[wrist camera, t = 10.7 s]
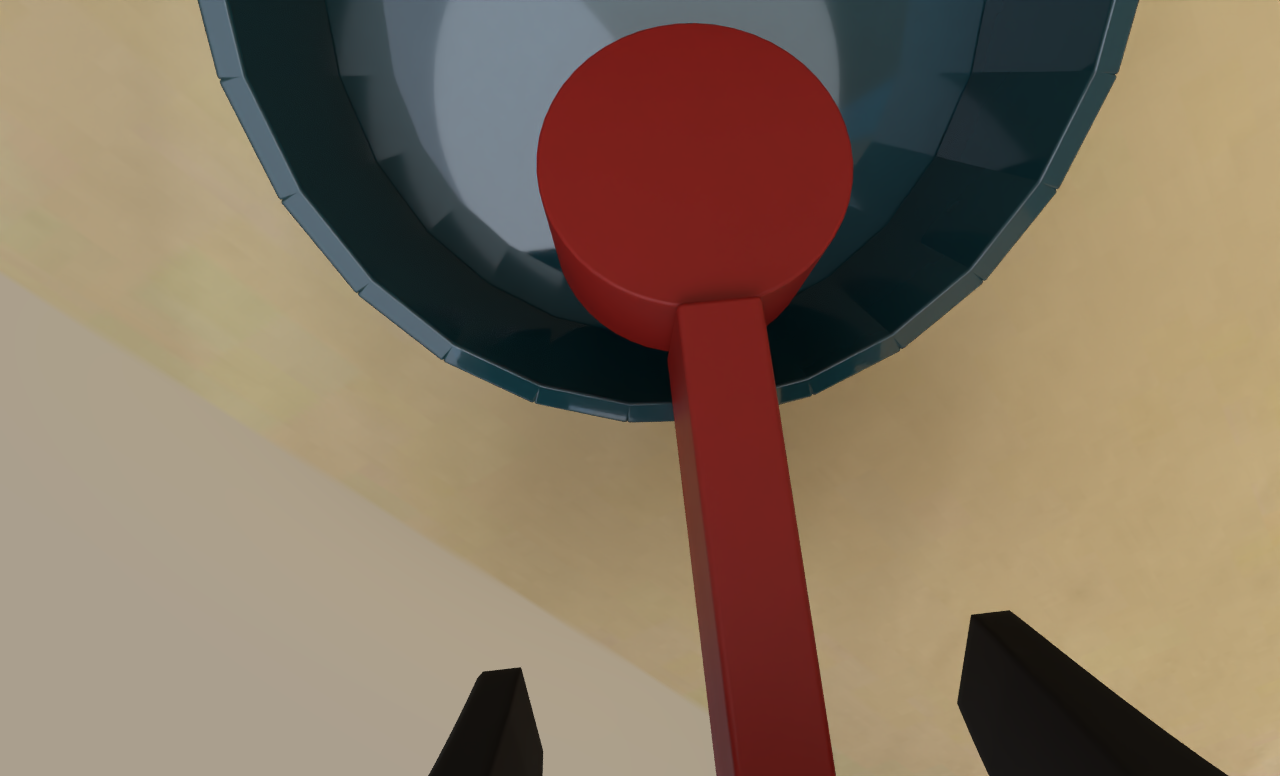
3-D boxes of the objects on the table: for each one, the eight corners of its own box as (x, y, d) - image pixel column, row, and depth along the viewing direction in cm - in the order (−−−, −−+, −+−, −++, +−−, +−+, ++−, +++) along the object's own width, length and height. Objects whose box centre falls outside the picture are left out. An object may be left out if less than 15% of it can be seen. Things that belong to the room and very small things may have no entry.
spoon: (546, 128, 13) (520, 14, 10) (790, 105, 13) (833, -12, 10) (601, 803, 10) (589, 906, 7) (907, 767, 10) (1008, 854, 7)
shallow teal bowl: (657, 437, 16) (671, 540, 13) (173, 29, 12) (-13, 9, 8) (1117, 27, 13) (1319, 7, 9) (666, -765, 8) (712, -1394, 5)
